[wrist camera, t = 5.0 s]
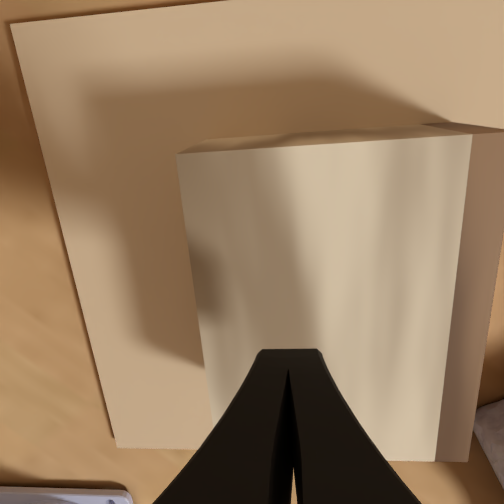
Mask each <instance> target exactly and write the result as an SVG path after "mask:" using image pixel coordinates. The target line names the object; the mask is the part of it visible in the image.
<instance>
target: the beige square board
mask: <svg viewBox="0 0 504 504" xmlns="http://www.w3.org/2000/svg"><path fill="white" fill-rule="evenodd" d="M10 27H11V31H12V35H13V39H14V43H15V47H16V51H17V55H18V59H19V63H20V67H21V71H22V75H23V79H24V82H25V86H26V90H27V94H28V98H29V102H30V106H31V110H32V114H33V118H34V122H35V126H36V130H37V134H38V138H39V142H40V145H41V149H42V153H43V157H44V161H45V165H46V169H47V173H48V177H49V181H50V185H51V189H52V193H53V197H54V201H55V205H56V208H57V212H58V216H59V220H60V224H61V228H62V232H63V236H64V240H65V244H66V248H67V252H68V256H69V260H70V264H71V268H72V271H73V275H74V279H75V283H76V287H77V291H78V295H79V299H80V303H81V307H82V311H83V315H84V319H85V323H86V327H87V331H88V335H89V338H90V342H91V346H92V350H93V354H94V358H95V362H96V366H97V370H98V374H99V378H100V382H101V386H102V390H103V394H104V398H105V401H106V405H107V409H108V413H109V417H110V421H111V425H112V429H113V433H114V437H115V441H116V445H117V448H144V449H199V448H200V446H201V445H202V443H203V442H204V441H205V439H206V438H207V436H208V435H209V434H210V432H211V431H212V430H213V422H212V415H211V408H210V401H209V393H208V386H207V379H206V372H205V365H204V357H203V350H202V343H201V336H200V329H199V322H198V314H197V307H196V300H195V293H194V286H193V279H192V271H191V264H190V257H189V250H188V243H187V235H186V228H185V221H184V214H183V207H182V200H181V192H180V185H179V178H178V171H177V164H176V156H175V154H177V153H179V152H181V151H183V150H185V149H187V148H189V147H191V146H193V145H195V144H198V143H200V142H202V141H204V140H206V139H217V138H231V137H245V136H259V135H274V134H288V133H302V132H316V131H330V130H345V129H359V128H373V127H387V126H402V125H416V124H430V123H444V122H456V123H463V124H471V125H478V126H485V127H493V128H500V129H504V0H227V1H218V2H208V3H199V4H190V5H181V6H171V7H162V8H153V9H144V10H135V11H125V12H116V13H107V14H98V15H89V16H79V17H70V18H61V19H52V20H42V21H33V22H24V23H15V24H10Z"/></svg>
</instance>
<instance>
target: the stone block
mask: <svg viewBox="0 0 504 504" xmlns="http://www.w3.org/2000/svg"><path fill="white" fill-rule="evenodd" d="M473 431H474V433H475V434H476V437H477V439H478V441H479V443H480V445H481V447H482V449H483V451H484V452H485V454H486V456H487V458H488V460H489V462H490V464H491V466H492V468H493V470H494V472H495V474H496V476H497V478H498V480H499V482H500V484H501V486H502V488H503V490H504V399H503V400H501V401H498V402H494V403H491V404H487V405H485V406H482V407H479V408H477V409H476V413H475V419H474V426H473Z"/></svg>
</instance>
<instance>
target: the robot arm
mask: <svg viewBox="0 0 504 504" xmlns="http://www.w3.org/2000/svg"><path fill="white" fill-rule="evenodd" d="M293 467H294V476H295V485H296V495H297V504H421V502H420V501H419V500H418V499H417V498H416V496H415V495H414V494H413V493H412V492H411V490H410V489H409V488H408V487H407V486H406V485H405V483H404V482H403V481H402V480H401V478H400V477H399V476H398V475H397V473H396V472H395V471H394V470H393V468H392V467H391V466H390V464H389V463H388V462H387V461H386V459H385V458H384V457H383V455H382V454H381V453H380V451H379V450H378V448H377V447H376V446H375V444H374V443H373V441H372V440H371V439H370V437H369V436H368V435H367V433H366V432H365V430H364V429H363V427H362V426H361V424H360V423H359V421H358V420H357V418H356V417H355V415H354V413H353V412H352V410H351V409H350V407H349V405H348V404H347V402H346V401H345V399H344V397H343V396H342V394H341V392H340V391H339V389H338V387H337V385H336V383H335V381H334V380H333V378H332V376H331V374H330V372H329V370H328V368H327V365H326V363H325V361H324V358H323V355H322V353H321V352H320V351H319V350H318V349H317V348H311V349H262V350H261V351H259V352H258V353H257V355H256V358H255V360H254V362H253V364H252V366H251V368H250V370H249V372H248V374H247V376H246V378H245V379H244V381H243V383H242V385H241V387H240V388H239V390H238V392H237V393H236V395H235V396H234V398H233V400H232V401H231V403H230V404H229V406H228V408H227V409H226V411H225V412H224V414H223V415H222V417H221V418H220V420H219V421H218V423H217V424H216V425H215V427H214V428H213V430H212V431H211V432H210V434H209V435H208V436H207V438H206V439H205V441H204V442H203V443H202V445H201V446H200V448H199V449H198V450H197V451H196V453H195V454H194V455H193V457H192V458H191V459H190V460H189V462H188V463H187V464H186V465H185V467H184V468H183V469H182V470H181V472H180V473H179V474H178V475H177V476H176V477H175V479H174V480H173V481H172V482H171V483H170V484H169V486H168V487H167V488H166V489H165V490H164V491H163V492H162V494H161V495H160V496H159V497H158V498H157V499H156V500H155V501H154V502H153V503H152V504H291V493H292V480H293ZM0 504H133V501H132V497H131V495H130V494H129V493H128V492H127V491H125V490H110V489H75V488H40V487H5V486H0Z"/></svg>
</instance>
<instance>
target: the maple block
mask: <svg viewBox="0 0 504 504" xmlns="http://www.w3.org/2000/svg"><path fill="white" fill-rule="evenodd" d="M175 156H176V164H177V171H178V178H179V185H180V192H181V200H182V207H183V214H184V221H185V228H186V235H187V243H188V250H189V257H190V264H191V271H192V279H193V286H194V293H195V300H196V307H197V314H198V322H199V329H200V336H201V343H202V350H203V357H204V365H205V372H206V379H207V386H208V393H209V401H210V408H211V415H212V422H213V428H214V427H215V425H216V424H217V423H218V421H219V420H220V418H221V417H222V415H223V414H224V412H225V411H226V409H227V408H228V406H229V404H230V403H231V401H232V400H233V398H234V396H235V395H236V393H237V392H238V390H239V388H240V387H241V385H242V383H243V381H244V379H245V378H246V376H247V374H248V372H249V370H250V368H251V366H252V364H253V362H254V360H255V358H256V355H257V353H258V352H259V351H261V350H262V349H311V348H317V349H318V350H319V351H320V352H321V353H322V355H323V358H324V361H325V363H326V365H327V368H328V370H329V372H330V374H331V376H332V378H333V380H334V381H335V383H336V385H337V387H338V389H339V391H340V392H341V394H342V396H343V397H344V399H345V401H346V402H347V404H348V405H349V407H350V409H351V410H352V412H353V413H354V415H355V417H356V418H357V420H358V421H359V423H360V424H361V426H362V427H363V429H364V430H365V432H366V433H367V435H368V436H369V437H370V439H371V440H372V441H373V443H374V444H375V446H376V447H377V448H378V450H379V451H380V453H381V454H382V455H383V457H384V458H385V459H386V461H435V462H468V458H469V451H470V445H471V439H472V432H473V426H474V419H475V413H476V406H477V400H478V393H479V387H480V381H481V374H482V368H483V361H484V355H485V348H486V342H487V336H488V329H489V323H490V316H491V310H492V303H493V297H494V291H495V284H496V278H497V271H498V265H499V258H500V252H501V245H502V239H503V233H504V129H500V128H493V127H485V126H478V125H471V124H463V123H456V122H444V123H430V124H416V125H402V126H387V127H373V128H359V129H345V130H330V131H316V132H302V133H288V134H274V135H259V136H245V137H231V138H217V139H206V140H204V141H202V142H200V143H198V144H195V145H193V146H191V147H189V148H187V149H185V150H183V151H181V152H179V153H177V154H175Z"/></svg>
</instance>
